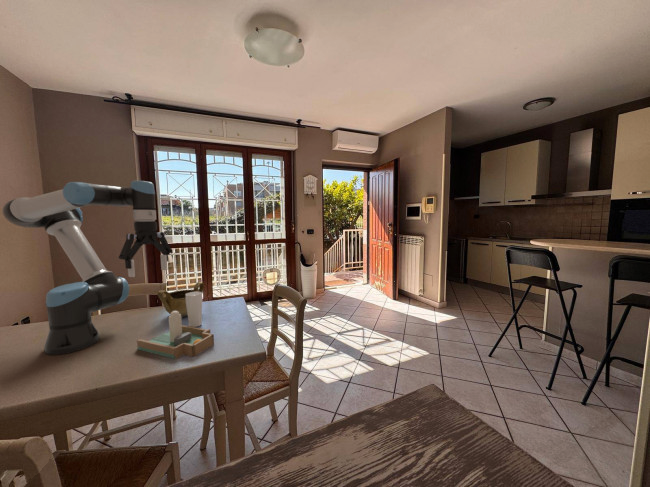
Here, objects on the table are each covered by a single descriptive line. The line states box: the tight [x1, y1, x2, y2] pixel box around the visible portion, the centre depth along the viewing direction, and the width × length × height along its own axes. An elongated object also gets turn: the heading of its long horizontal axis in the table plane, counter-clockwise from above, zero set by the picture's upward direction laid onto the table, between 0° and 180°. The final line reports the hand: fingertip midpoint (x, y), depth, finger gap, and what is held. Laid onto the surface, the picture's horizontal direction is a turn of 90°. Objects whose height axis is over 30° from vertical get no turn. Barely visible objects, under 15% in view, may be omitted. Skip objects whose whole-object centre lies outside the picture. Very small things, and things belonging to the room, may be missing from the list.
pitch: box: [136, 324, 215, 360], centre depth 100 cm, size 24×16×4 cm, turn 70°
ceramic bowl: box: [157, 281, 206, 318], centre depth 130 cm, size 22×17×15 cm
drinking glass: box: [185, 292, 203, 328], centre depth 118 cm, size 7×7×15 cm
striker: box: [168, 311, 192, 345], centre depth 100 cm, size 6×6×12 cm
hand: (149, 273), depth 105 cm, fingers open, 13 cm apart
